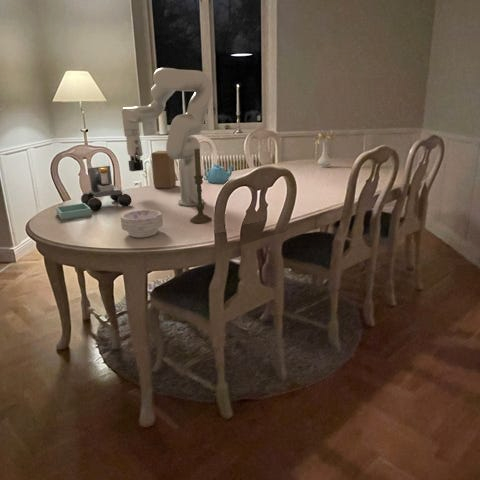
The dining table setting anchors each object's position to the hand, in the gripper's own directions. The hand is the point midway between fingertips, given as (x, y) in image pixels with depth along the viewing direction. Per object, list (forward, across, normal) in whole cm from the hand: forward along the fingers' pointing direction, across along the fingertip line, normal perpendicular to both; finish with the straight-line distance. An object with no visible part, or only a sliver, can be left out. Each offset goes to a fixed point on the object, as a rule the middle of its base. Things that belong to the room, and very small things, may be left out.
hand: (136, 169), depth 218 cm
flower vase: (+15, +8, -135) cm, 136 cm away
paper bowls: (+15, -62, +20) cm, 67 cm away
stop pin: (+6, -10, +19) cm, 23 cm away
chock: (0, 0, 0) cm, 0 cm away
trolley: (+14, -8, +19) cm, 25 cm away
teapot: (+15, +9, -53) cm, 55 cm away
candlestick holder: (+15, -59, -6) cm, 62 cm away
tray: (+14, -17, +36) cm, 43 cm away
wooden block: (+14, +16, -21) cm, 30 cm away
